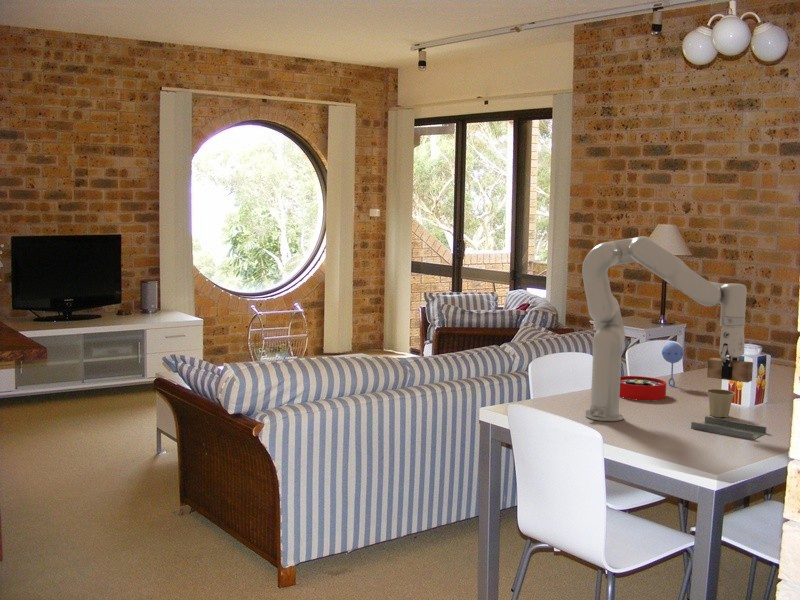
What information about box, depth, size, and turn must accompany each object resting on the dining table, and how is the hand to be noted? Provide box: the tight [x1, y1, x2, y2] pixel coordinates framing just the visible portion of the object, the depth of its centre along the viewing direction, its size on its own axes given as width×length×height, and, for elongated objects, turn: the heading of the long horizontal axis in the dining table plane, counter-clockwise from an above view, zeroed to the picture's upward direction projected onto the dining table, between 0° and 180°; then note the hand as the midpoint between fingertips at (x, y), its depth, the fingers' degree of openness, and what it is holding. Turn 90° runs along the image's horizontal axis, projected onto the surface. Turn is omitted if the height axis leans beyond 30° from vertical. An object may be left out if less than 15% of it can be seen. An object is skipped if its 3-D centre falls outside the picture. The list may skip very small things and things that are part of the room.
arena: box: [690, 415, 767, 441], centre depth 287 cm, size 12×20×2 cm, turn 49°
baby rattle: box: [661, 341, 685, 387], centre depth 359 cm, size 9×9×18 cm
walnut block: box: [706, 357, 754, 384], centre depth 286 cm, size 13×4×6 cm, turn 51°
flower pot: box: [706, 388, 736, 418], centre depth 308 cm, size 9×9×9 cm
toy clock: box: [620, 375, 667, 401], centre depth 340 cm, size 20×6×20 cm
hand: (729, 376), depth 286 cm, fingers closed on walnut block, 4 cm apart
